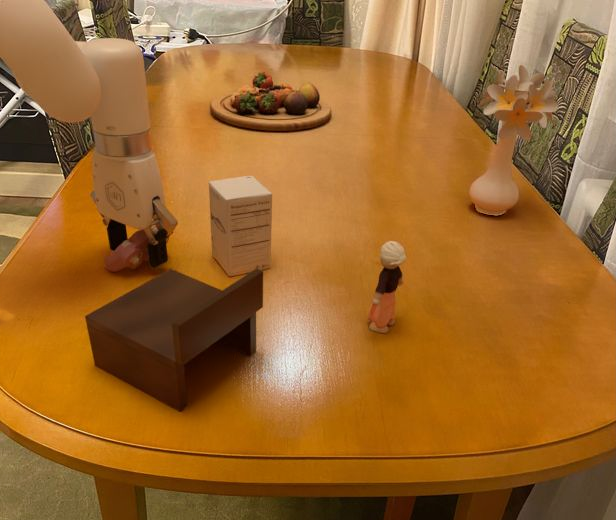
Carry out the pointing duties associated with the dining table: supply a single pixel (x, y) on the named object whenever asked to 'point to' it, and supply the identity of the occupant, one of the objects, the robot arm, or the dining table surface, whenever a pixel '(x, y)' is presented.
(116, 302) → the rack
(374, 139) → the dining table surface
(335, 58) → the dining table surface
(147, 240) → the pink toy car
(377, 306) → the grandmother figurine
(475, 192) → the flower vase
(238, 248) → the white packaging box
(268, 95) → the wooden plate
